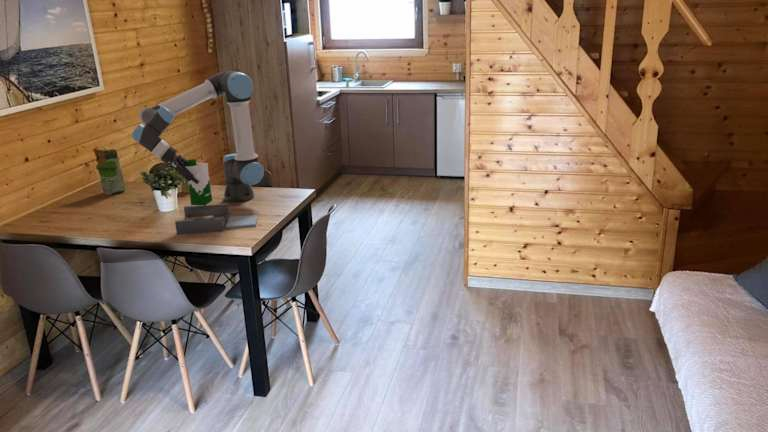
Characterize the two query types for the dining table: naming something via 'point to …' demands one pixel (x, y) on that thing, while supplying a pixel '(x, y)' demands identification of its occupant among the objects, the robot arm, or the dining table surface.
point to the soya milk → (197, 193)
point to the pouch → (109, 171)
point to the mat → (242, 221)
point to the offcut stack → (199, 217)
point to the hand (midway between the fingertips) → (206, 183)
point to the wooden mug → (185, 186)
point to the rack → (203, 224)
